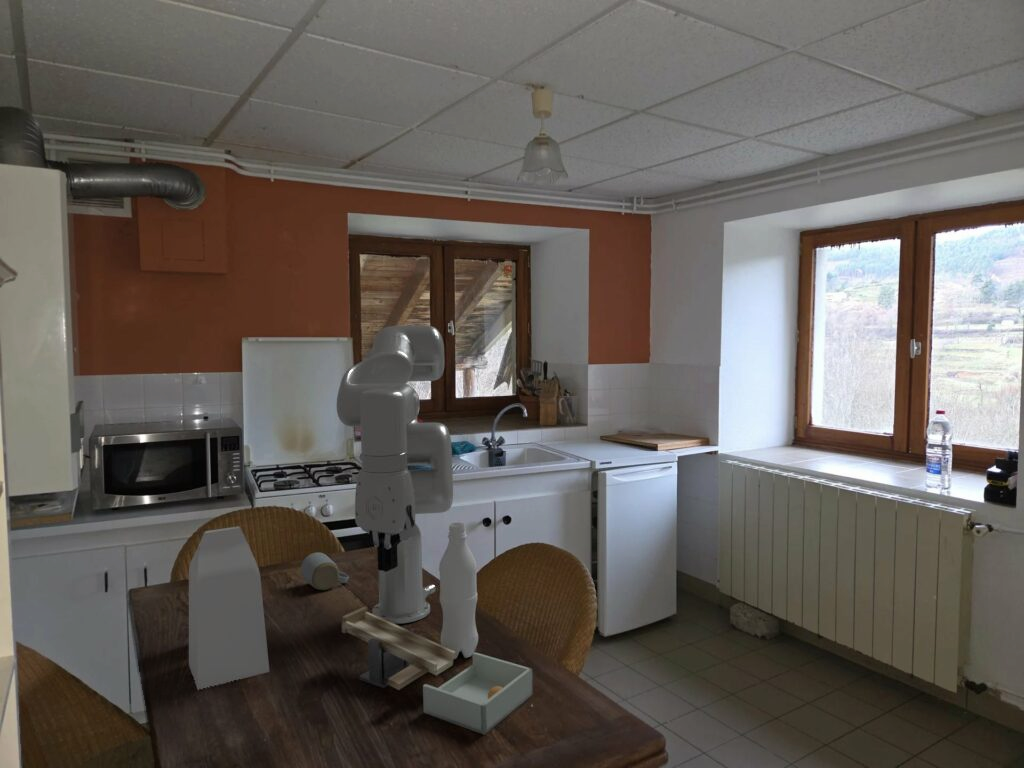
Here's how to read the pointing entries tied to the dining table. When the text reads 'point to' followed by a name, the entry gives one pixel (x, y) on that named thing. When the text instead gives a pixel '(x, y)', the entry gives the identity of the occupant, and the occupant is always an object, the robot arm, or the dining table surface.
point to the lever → (399, 646)
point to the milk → (225, 611)
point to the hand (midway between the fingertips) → (387, 568)
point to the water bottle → (458, 594)
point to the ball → (494, 691)
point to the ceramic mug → (321, 571)
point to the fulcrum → (382, 665)
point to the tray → (480, 694)
